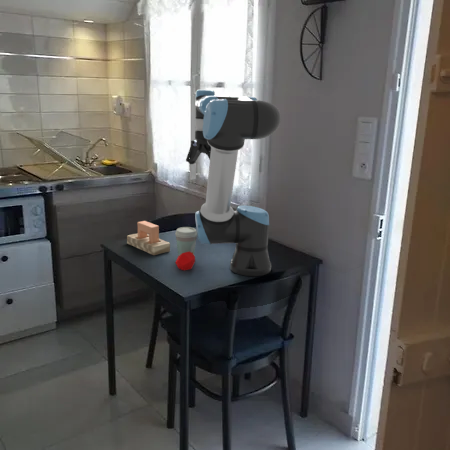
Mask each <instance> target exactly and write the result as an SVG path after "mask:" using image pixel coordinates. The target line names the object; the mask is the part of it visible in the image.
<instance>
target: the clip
mask: <svg viewBox="0 0 450 450" xmlns="http://www.w3.org/2000/svg"><path fill="white" fill-rule="evenodd" d="M159 229H160V226H159V225H157V224H154V223H152V222H149V221H147V220H142V221H137V233H138V239H141V238H146V237H147V234H149V243H150V244H153V243H157V242H159V239H160V230H159Z"/></svg>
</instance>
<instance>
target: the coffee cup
mask: <svg viewBox="0 0 450 450" xmlns="http://www.w3.org/2000/svg"><path fill="white" fill-rule="evenodd" d="M174 234H175V235H174V236H175V240H176V249H177V257H178V256H179V255H181V254H182V253H185V252H191V253H192V252H193V255H194V256H195V250H196V243H197V238H198V235H197V228H196V227H195V228H194V227H191V226H182V227H178V228H177V229H176V231H175V233H174Z"/></svg>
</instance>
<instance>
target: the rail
mask: <svg viewBox="0 0 450 450" xmlns="http://www.w3.org/2000/svg"><path fill="white" fill-rule="evenodd" d="M126 244H128V245H130V246H133V247H134V248H136V249H139V250H141V251H142V252H143V251H144V252H146V253H148V254H150V255H152V256H156V255H160V254H164V253H165V254H166V253H169V252H171V243H170V242H169V241H165V240H164V239H161V238H159V242H157V243H153V244H150V243H149V233H147V237H146V238H141V239H138V232H137V233H132V234H129V235H127V236H126Z"/></svg>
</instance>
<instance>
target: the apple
mask: <svg viewBox="0 0 450 450" xmlns="http://www.w3.org/2000/svg"><path fill="white" fill-rule="evenodd" d="M195 263H196V256H195V254H194V255H193V252H192V253H191V252H185V253H182V254H181V255H179V256H178V255H177V258H176V260H175V265H176V267H177V268H178V269H179V270H181V271H187V270H188V271H189V270H191V269H193V266H194V264H195Z"/></svg>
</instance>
